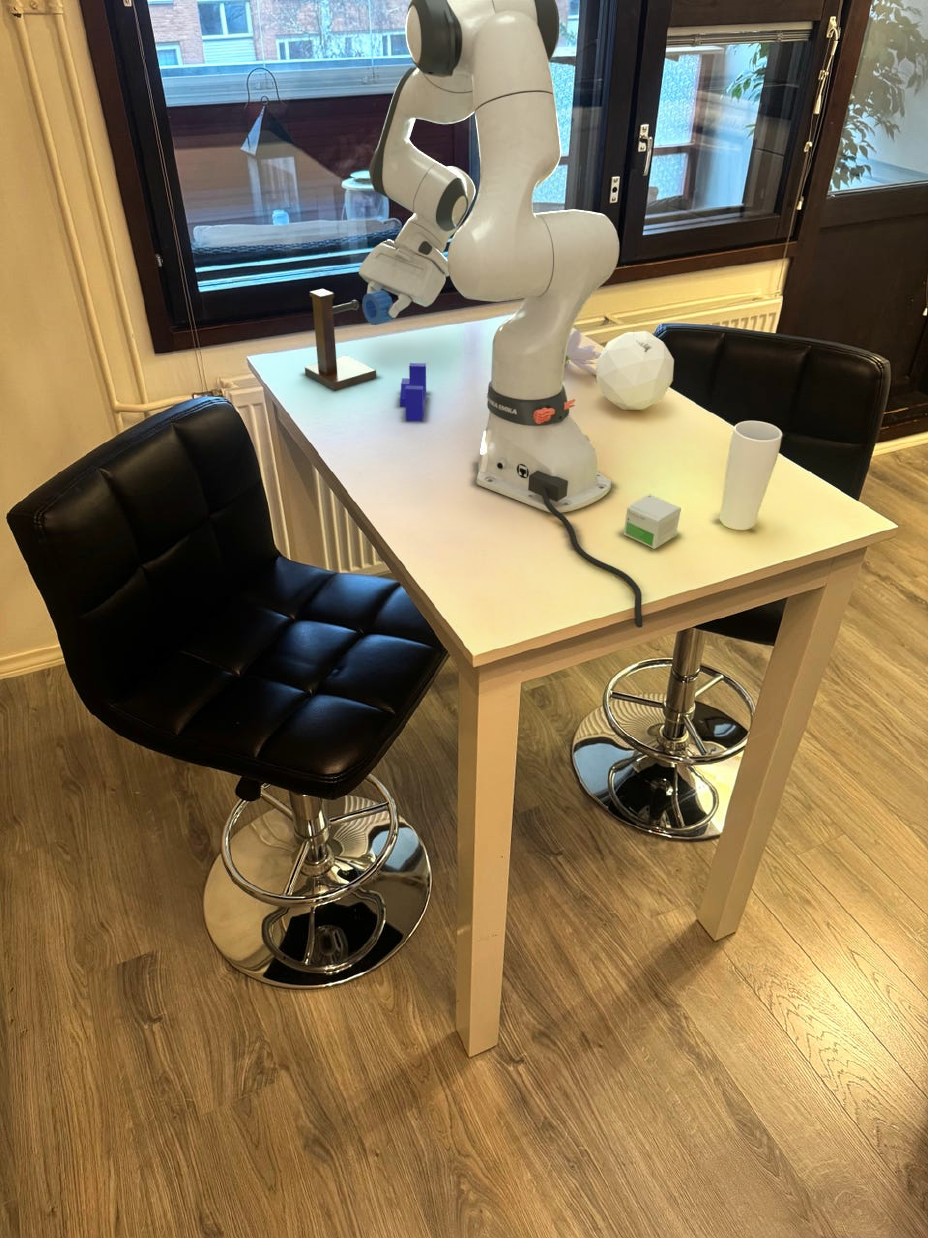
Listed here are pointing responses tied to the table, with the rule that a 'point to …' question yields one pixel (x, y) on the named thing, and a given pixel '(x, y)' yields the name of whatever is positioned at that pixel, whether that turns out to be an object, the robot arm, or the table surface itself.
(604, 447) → the table surface
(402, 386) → the cable clip
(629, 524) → the small box
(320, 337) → the hook stand
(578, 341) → the water lily
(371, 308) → the fluted cylinder
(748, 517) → the drinking glass
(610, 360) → the geodesic sphere
